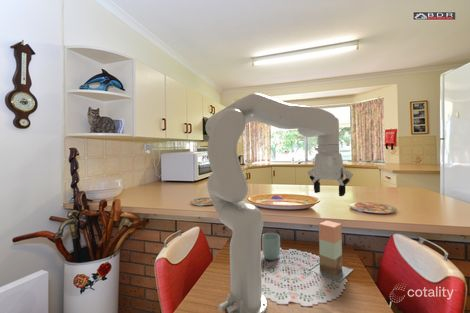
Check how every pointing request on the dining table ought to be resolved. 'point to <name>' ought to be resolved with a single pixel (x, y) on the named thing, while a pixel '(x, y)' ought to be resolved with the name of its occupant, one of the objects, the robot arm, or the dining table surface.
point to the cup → (271, 245)
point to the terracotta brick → (330, 231)
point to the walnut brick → (331, 265)
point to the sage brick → (330, 249)
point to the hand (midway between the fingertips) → (329, 194)
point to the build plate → (338, 277)
